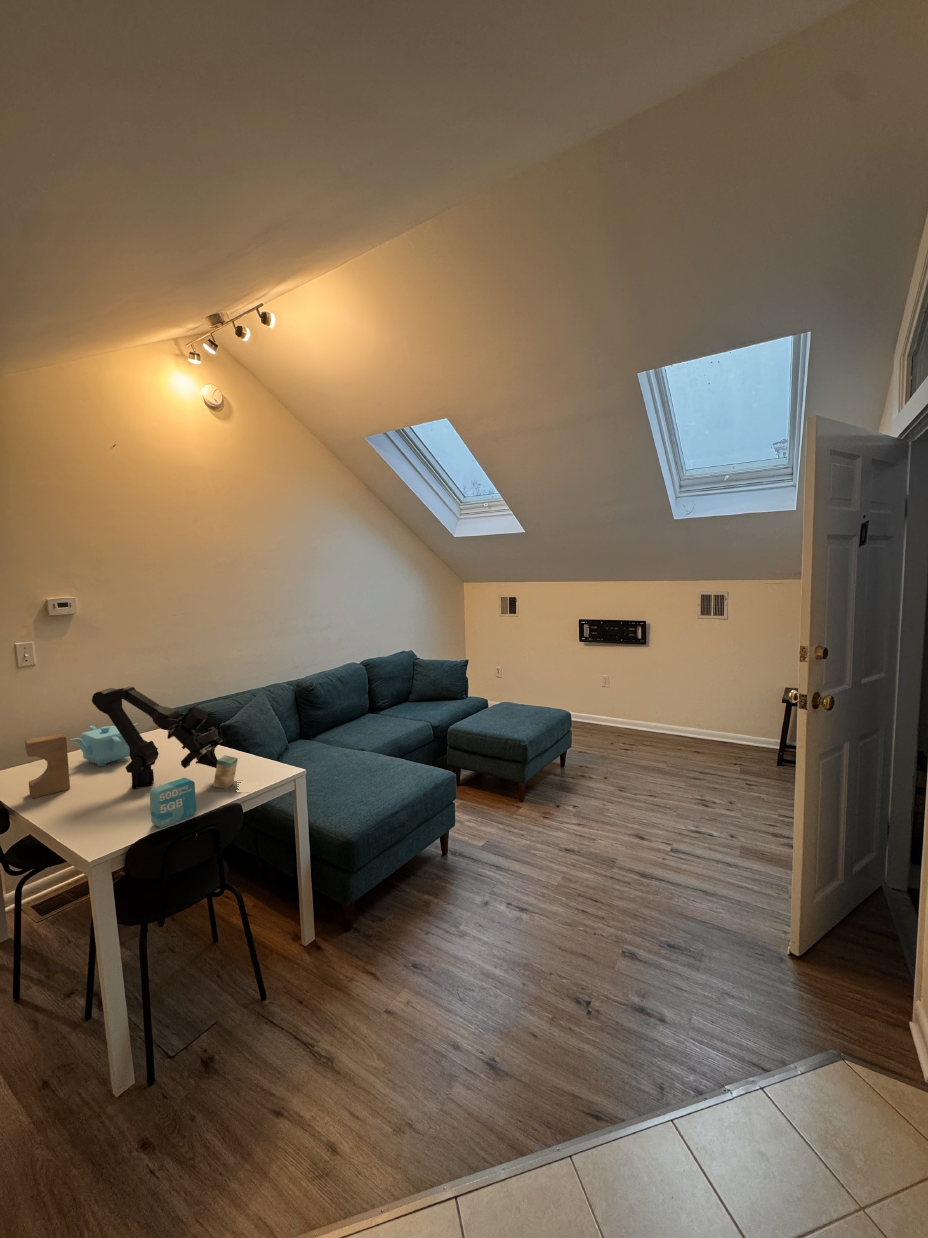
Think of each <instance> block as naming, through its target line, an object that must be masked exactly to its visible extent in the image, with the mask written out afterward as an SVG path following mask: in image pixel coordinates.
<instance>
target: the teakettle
mask: <svg viewBox="0 0 928 1238" xmlns="http://www.w3.org/2000/svg"><path fill="white" fill-rule="evenodd" d="M133 725H134V726H135V727H136V726H137V725H138V723H133ZM89 729H90V730H89V731H84V732H81V738H80V737H74V738H70V739H69V741H75V742H76V743H77V744H78V747H79V748H80V751H81V752H82V757H83V759H85V760H87V761H89V764H95V765H97V766H96V767H97V768H102V767H106V766H107V763H111V762H115V761H116V762H123V761H125V760H126V758H128V757H130V748H129V746H128V744H127V743H126V741H125V740H124V738H123V737H122V735H121V734H120V732H119V731H118V729H117V728H116V726H115V725H106V726H105V725H104V726H101V727H99V728H97V727H96V726H95V725H90V726H89Z"/></svg>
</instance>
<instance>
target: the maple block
mask: <svg viewBox="0 0 928 1238" xmlns="http://www.w3.org/2000/svg"><path fill="white" fill-rule="evenodd" d="M217 760H218V761H217V767H216V768H215V775H214V779H213V784H212V785H213V786H216V787H220V788H224V789H227V788H228V787H229V786H231V785H232V784H233V783H234V780H235V775H236V771H237V766H238V765H237V764H238V760H239V758H238V757H235V756H231V755H226V754H224V755H223V756H222V757H220V758H218V759H217Z"/></svg>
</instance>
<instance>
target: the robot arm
mask: <svg viewBox="0 0 928 1238" xmlns="http://www.w3.org/2000/svg"><path fill="white" fill-rule="evenodd" d="M91 698H92V699H91V702H92V704H93V706H95V708H96V709H97V710H98V711H99V712H100V713H101V712H102V713H103V714H105V715H107V716H108V717H109V719H110V721H111V722H112V724H113V726H116V728H117V729H118V731H119V732H120V734H121V735H122V737H123V738H124V740H125V741H126V743H127V744H128V746H129V748H130V756H129V758H130V760H131V761H130V762H129V763H128V764H127V765H126V766H125V770H126V772H127V773H128V774H129V773H130V774H131V789H133V790H134V789H140V788H145V787H149V786H150V787H151V786H153V785H154V783H153V782H154V781H155V777H154V769H153V768H152V766H153V765H155V764H156V761H157V760H158V758H159V748H158V747H157V746H156V745H155V743H154V741H153V740H150V741H147V740H145V739H144V738H143V737H142V736H141V734H140V733H139V730H138V729H137V728H136V726H134V725H133V724H134V723H133V722H132V720H131V719H130V717H129V716H128V714H127V713H126V711H125V709H123V701H126V702H127V703H129V704H130V705H132V706H133V707H135V708H136V709H138V710H139V711H141V712H143V713H145V714H146V715H148V716H149V717H150V718H151V720H152V723H154V724H155V725H156V727H157V726H158V728H159V729H160V730H162V731H163V730H165V731H166V730H168V731H167V739H168V740H169V739H172V738H173V737H174V738H175V739H176V740H177V741H178V742H179V743H180V744H181V745H182V746H181V749H182V750H184V749H185V750H188V753H187V754H186V755H185V756H184V758H183V759H181V761H180V766H181V767H183V768H184V769H186V768H188V767H190V766H191V763H192V762H193V761H194V760H195V759H196V762H195V764H196V765H197V764H199V765H204V766H207V767H211V768H213V769H216V767H217V761H218V760H219V759H218V757H217V755H216V753H215V752H216V748H217V747H218V746H219V745H220V744H221V743H222V742H223V741H224V740H223V738H222V737H221V736H219V735H218V734H219V729H217V728H216V727H215V726H211V727H210V728H207V732H205V733H203V734H202V733H201V732H198V733H197V732H195V730H197V729H198V728H200V726H201V725H202V724H203V723H204V722H205V721H206V720H207V719H208V714H207V712H206V711H205V710H203V709H200V708H197V707H195V706H194V705H193V706H191V707H190V708H189V709H188V710H187V711H186V712H185V713H183V712H179V711H178V710H176V709H174V708H172V707H169V706H163V705H160V704H159V703H157V702H155V701H154V700H153V699H151V698H149V697H148V696H146V695H145V694H143V693H142V692H140V691H139V690H137V689H136V687H134V686H126V687H121V688H113V687H108V688H106V689H102V690H99V691H96V692H94V693H93V695H92V697H91ZM180 723H181V724H180ZM171 728H173V729H171ZM169 729H170V730H169Z"/></svg>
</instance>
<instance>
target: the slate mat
mask: <svg viewBox="0 0 928 1238" xmlns="http://www.w3.org/2000/svg"><path fill="white" fill-rule="evenodd" d="M237 781H238V780H237ZM237 781H234V783H233V784H232V785H231V786H229V787H228V788H227V789H224V788H220V787H216V786H213V784H212V785H210V786H209V787H207V788H206V789H205V790H204V791H203V792H204V793H206V792H208V793H234V794H235V793H236V792H237V791H236V790H239V789H238V788H237V787H239V786H237V785H239V784H237V783H241V782H237Z"/></svg>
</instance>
